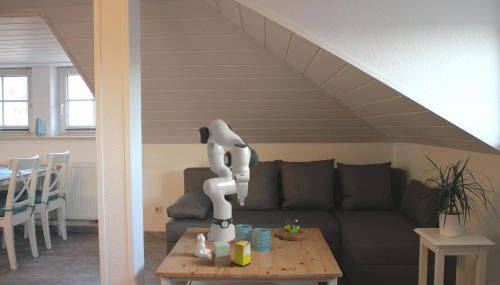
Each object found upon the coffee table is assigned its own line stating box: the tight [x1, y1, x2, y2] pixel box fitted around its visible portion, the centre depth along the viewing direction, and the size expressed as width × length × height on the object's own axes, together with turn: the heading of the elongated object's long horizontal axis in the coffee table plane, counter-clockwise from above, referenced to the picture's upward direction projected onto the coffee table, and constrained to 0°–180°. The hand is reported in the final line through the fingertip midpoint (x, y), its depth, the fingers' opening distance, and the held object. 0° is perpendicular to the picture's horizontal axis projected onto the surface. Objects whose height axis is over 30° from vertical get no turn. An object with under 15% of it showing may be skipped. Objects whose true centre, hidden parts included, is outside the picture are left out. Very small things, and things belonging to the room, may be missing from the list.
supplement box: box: [234, 239, 252, 268], centre depth 181 cm, size 6×6×11 cm
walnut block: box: [211, 251, 232, 267], centre depth 182 cm, size 8×8×5 cm
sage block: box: [213, 241, 231, 257], centre depth 182 cm, size 7×7×5 cm
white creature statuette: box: [193, 233, 211, 259], centre depth 192 cm, size 10×9×12 cm
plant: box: [275, 218, 310, 242], centre depth 229 cm, size 20×20×11 cm
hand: (240, 203), depth 182 cm, fingers open, 8 cm apart
